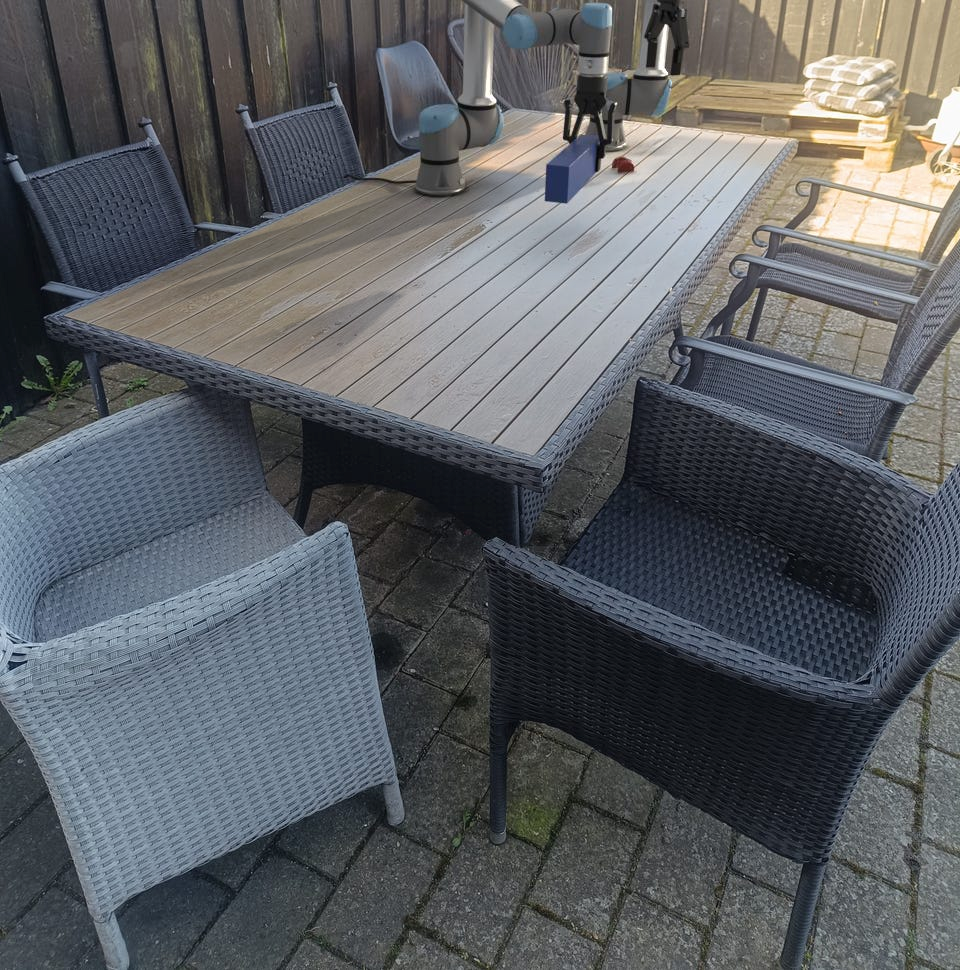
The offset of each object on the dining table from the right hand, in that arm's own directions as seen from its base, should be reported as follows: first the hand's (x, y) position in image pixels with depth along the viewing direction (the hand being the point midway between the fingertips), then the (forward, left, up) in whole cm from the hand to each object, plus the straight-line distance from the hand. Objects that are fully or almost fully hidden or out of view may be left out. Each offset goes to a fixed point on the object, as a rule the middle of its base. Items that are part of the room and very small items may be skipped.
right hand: (662, 71), depth 243 cm
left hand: (+35, -27, -18) cm, 47 cm away
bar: (+46, -32, -18) cm, 59 cm away
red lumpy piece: (-17, -5, -32) cm, 37 cm away
